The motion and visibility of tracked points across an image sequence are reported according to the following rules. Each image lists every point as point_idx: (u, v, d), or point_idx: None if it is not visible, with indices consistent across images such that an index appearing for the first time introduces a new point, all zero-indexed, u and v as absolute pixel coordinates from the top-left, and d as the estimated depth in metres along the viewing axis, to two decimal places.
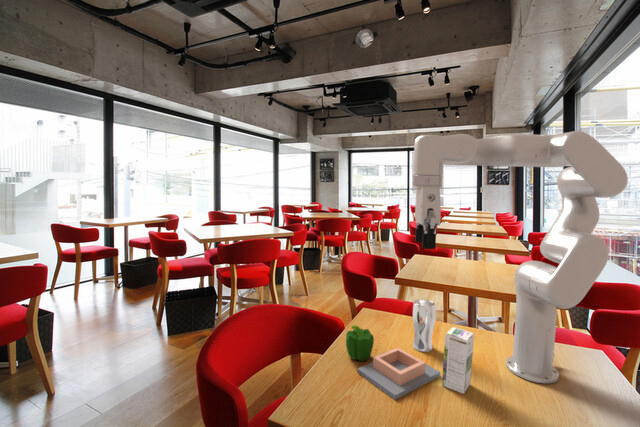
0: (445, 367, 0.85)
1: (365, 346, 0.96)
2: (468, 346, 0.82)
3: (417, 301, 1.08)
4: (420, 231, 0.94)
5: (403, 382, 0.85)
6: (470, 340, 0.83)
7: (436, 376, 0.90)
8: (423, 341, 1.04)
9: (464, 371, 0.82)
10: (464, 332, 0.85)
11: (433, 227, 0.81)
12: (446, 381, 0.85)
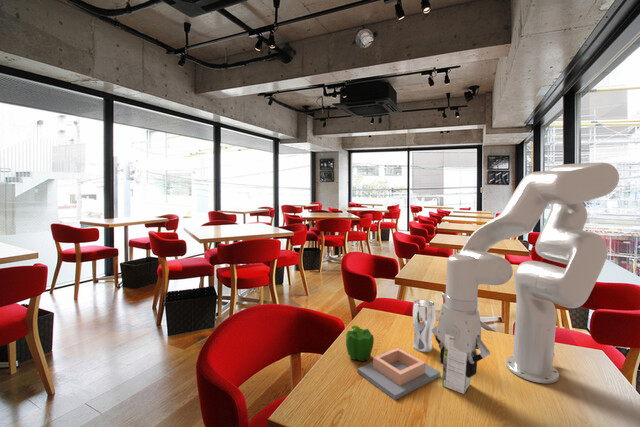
0: (445, 367, 0.85)
1: (365, 346, 0.96)
2: None
3: (417, 301, 1.08)
4: None
5: (403, 382, 0.85)
6: None
7: (436, 376, 0.90)
8: (423, 341, 1.04)
9: (464, 371, 0.82)
10: None
11: None
12: (445, 381, 0.85)
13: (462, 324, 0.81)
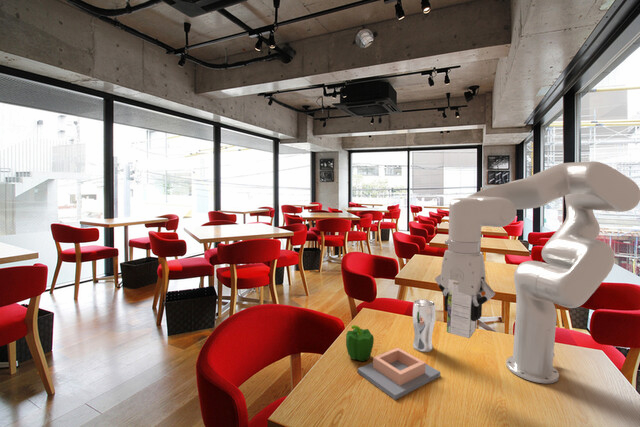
0: (449, 312, 0.84)
1: (365, 346, 0.96)
2: None
3: (417, 301, 1.08)
4: None
5: (403, 382, 0.85)
6: None
7: (436, 376, 0.90)
8: (423, 341, 1.04)
9: (468, 315, 0.81)
10: None
11: None
12: (450, 327, 0.84)
13: (466, 266, 0.80)
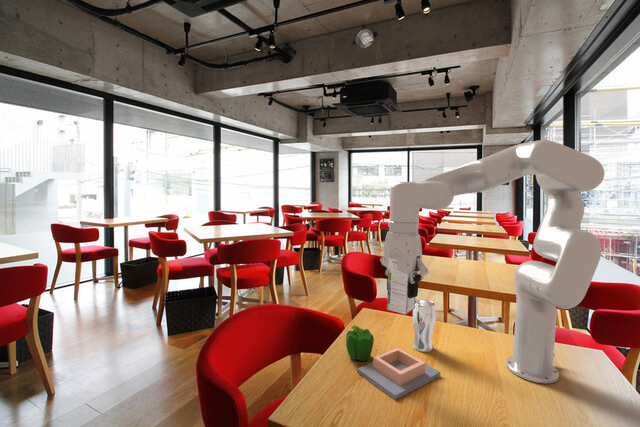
0: (389, 290, 0.88)
1: (365, 346, 0.96)
2: None
3: (417, 301, 1.08)
4: None
5: (403, 382, 0.85)
6: None
7: (436, 376, 0.90)
8: (423, 341, 1.04)
9: (405, 292, 0.85)
10: None
11: None
12: (390, 304, 0.88)
13: (403, 246, 0.84)
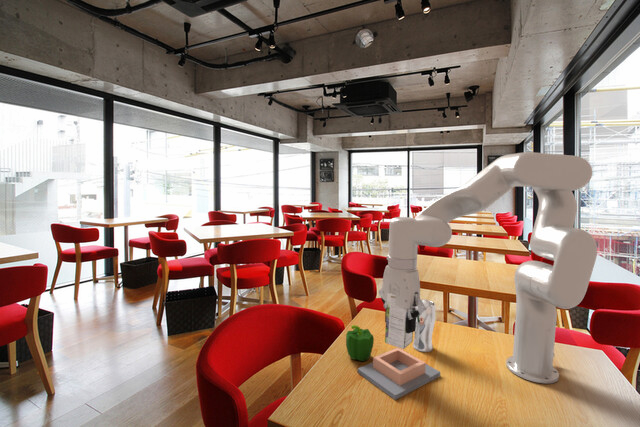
0: (387, 324, 0.89)
1: (365, 346, 0.96)
2: None
3: None
4: None
5: (403, 382, 0.85)
6: None
7: (436, 376, 0.90)
8: (423, 341, 1.04)
9: (403, 327, 0.86)
10: None
11: None
12: (388, 338, 0.89)
13: (401, 282, 0.85)
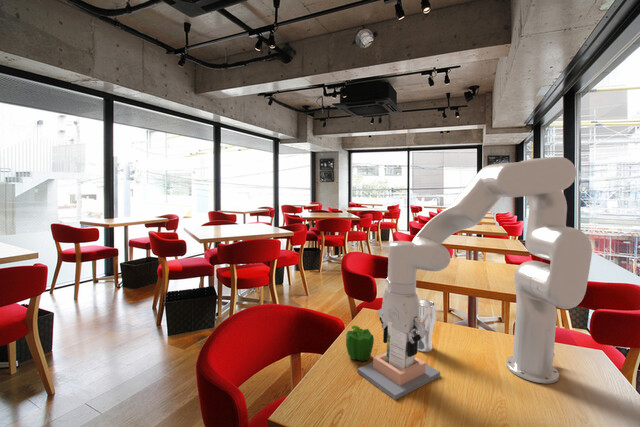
0: (388, 352, 0.90)
1: (365, 346, 0.96)
2: None
3: None
4: None
5: (403, 382, 0.85)
6: None
7: (436, 376, 0.90)
8: (423, 341, 1.04)
9: (403, 356, 0.87)
10: None
11: None
12: None
13: (401, 306, 0.86)
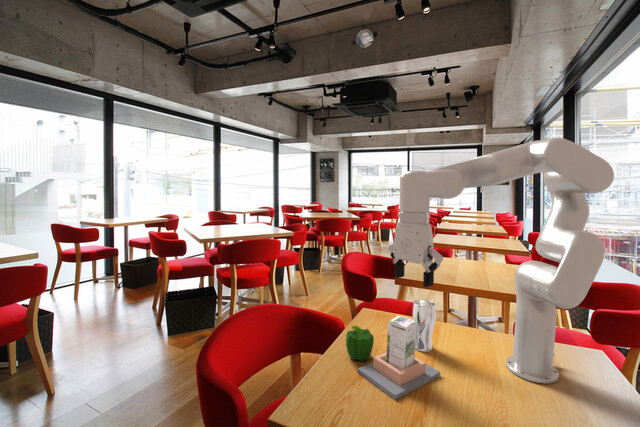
0: (388, 352, 0.90)
1: (365, 346, 0.96)
2: (407, 333, 0.87)
3: (417, 301, 1.08)
4: None
5: (403, 382, 0.85)
6: (410, 327, 0.87)
7: (436, 376, 0.90)
8: (423, 341, 1.04)
9: (403, 356, 0.87)
10: (407, 320, 0.90)
11: None
12: None
13: (414, 236, 0.83)
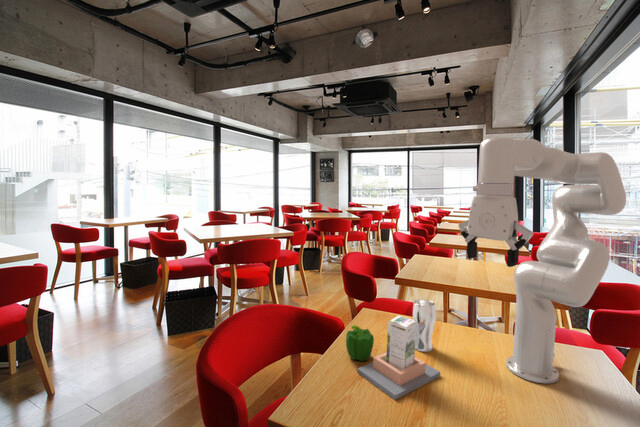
0: (388, 352, 0.90)
1: (365, 346, 0.96)
2: (407, 333, 0.87)
3: (417, 301, 1.08)
4: None
5: (403, 382, 0.85)
6: (410, 327, 0.87)
7: (436, 376, 0.90)
8: (423, 341, 1.04)
9: (403, 356, 0.87)
10: (407, 320, 0.90)
11: None
12: None
13: (498, 209, 0.75)
